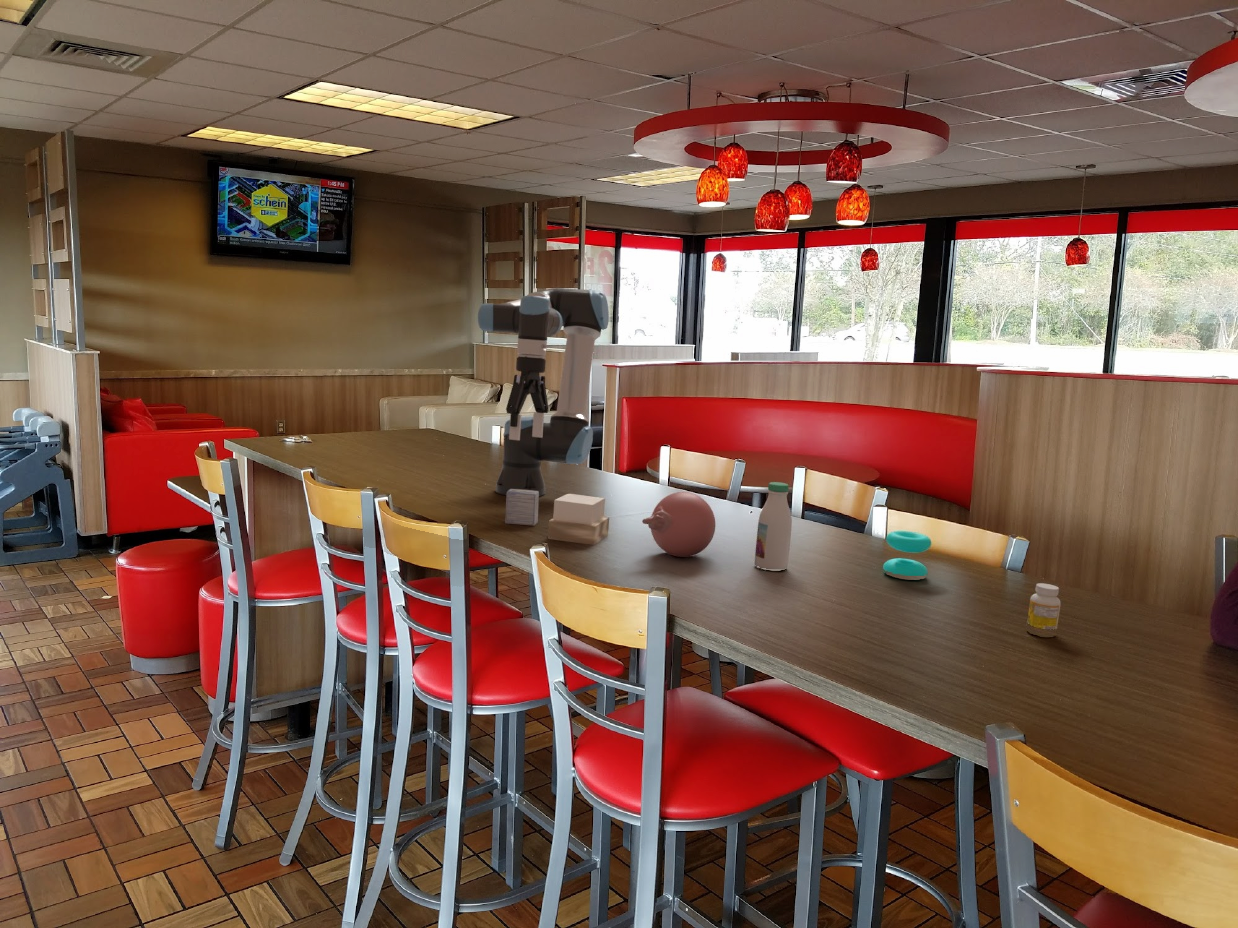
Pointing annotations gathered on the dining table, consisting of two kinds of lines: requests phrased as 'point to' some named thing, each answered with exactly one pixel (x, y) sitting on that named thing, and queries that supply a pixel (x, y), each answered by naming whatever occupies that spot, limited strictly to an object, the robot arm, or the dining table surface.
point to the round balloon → (682, 524)
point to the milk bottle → (774, 529)
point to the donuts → (907, 544)
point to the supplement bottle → (1044, 607)
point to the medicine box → (522, 507)
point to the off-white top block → (579, 509)
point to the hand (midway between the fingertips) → (526, 438)
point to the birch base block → (578, 531)
